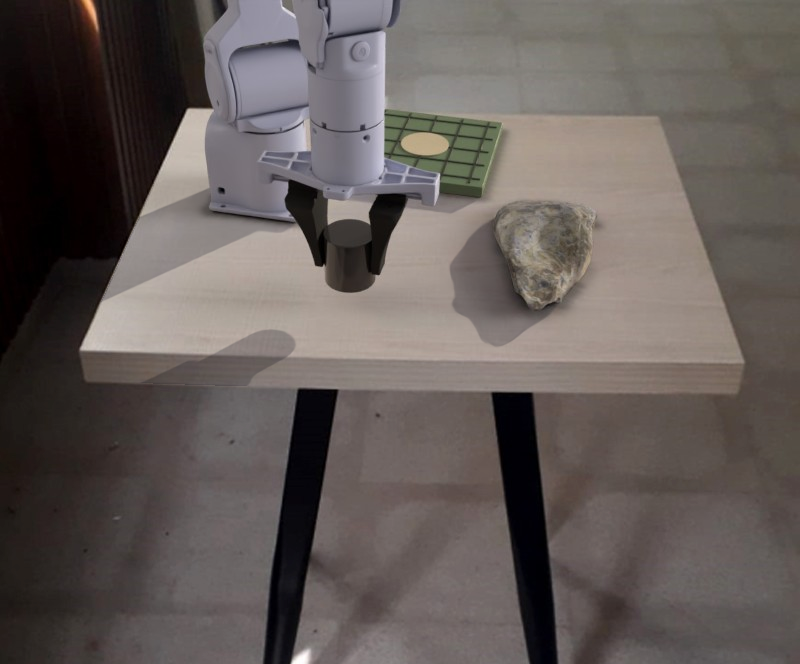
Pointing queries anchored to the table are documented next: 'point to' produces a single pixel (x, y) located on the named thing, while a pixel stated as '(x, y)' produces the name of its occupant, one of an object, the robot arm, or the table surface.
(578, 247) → the stone
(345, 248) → the dark grey cylinder
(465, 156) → the board
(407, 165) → the robot arm
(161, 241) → the table surface
